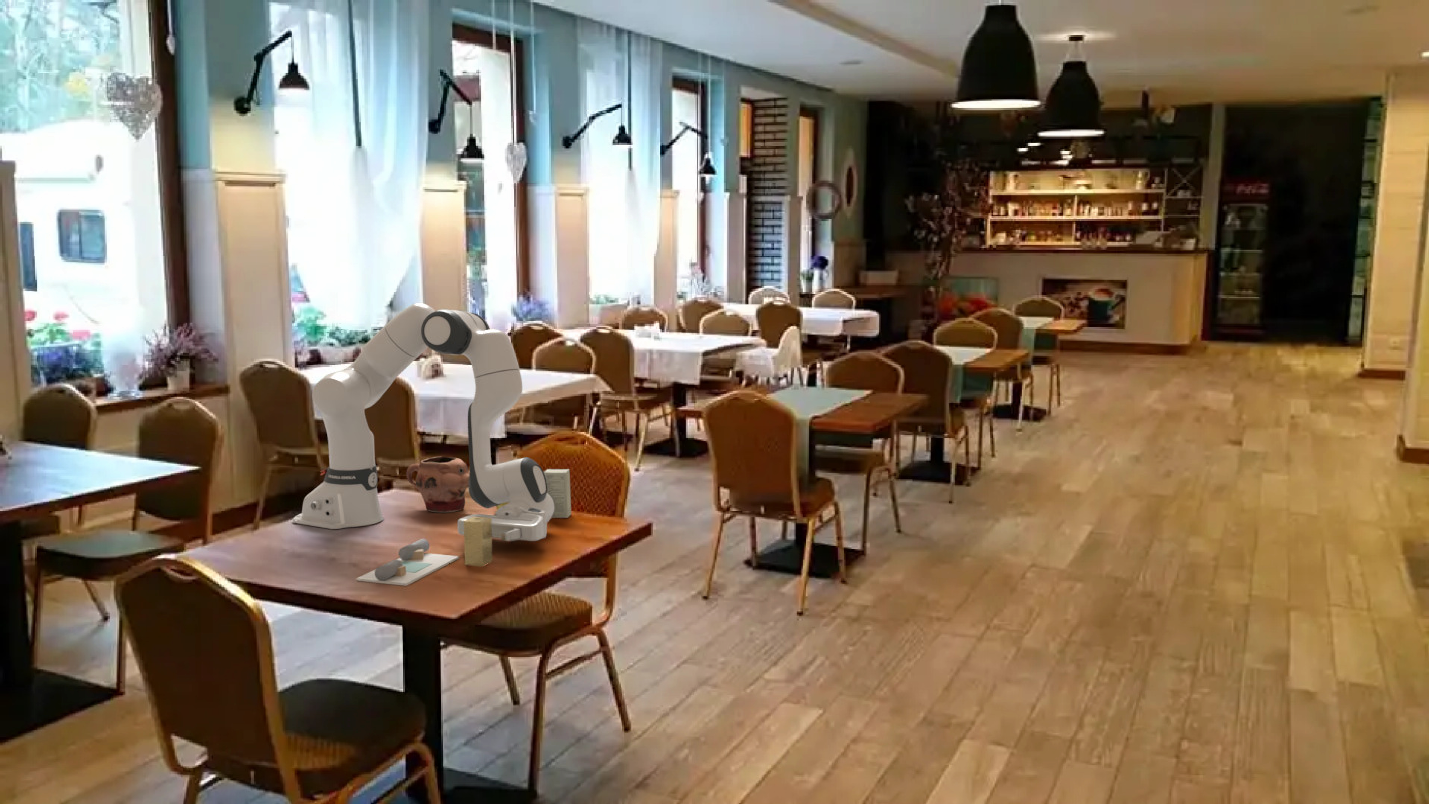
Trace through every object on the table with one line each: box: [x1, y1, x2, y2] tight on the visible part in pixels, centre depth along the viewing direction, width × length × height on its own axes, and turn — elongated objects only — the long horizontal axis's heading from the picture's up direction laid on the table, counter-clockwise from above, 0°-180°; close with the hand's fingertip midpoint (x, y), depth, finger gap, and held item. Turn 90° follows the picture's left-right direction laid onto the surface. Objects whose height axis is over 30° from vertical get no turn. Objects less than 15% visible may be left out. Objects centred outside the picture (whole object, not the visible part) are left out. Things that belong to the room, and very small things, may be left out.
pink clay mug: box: [405, 456, 470, 513], centre depth 313 cm, size 20×12×14 cm, turn 75°
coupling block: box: [463, 517, 493, 567], centre depth 262 cm, size 4×4×10 cm
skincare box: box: [543, 468, 572, 519], centre depth 306 cm, size 6×4×12 cm
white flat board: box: [356, 538, 460, 586], centre depth 258 cm, size 23×12×4 cm, turn 163°
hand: (485, 535), depth 265 cm, fingers open, 8 cm apart
